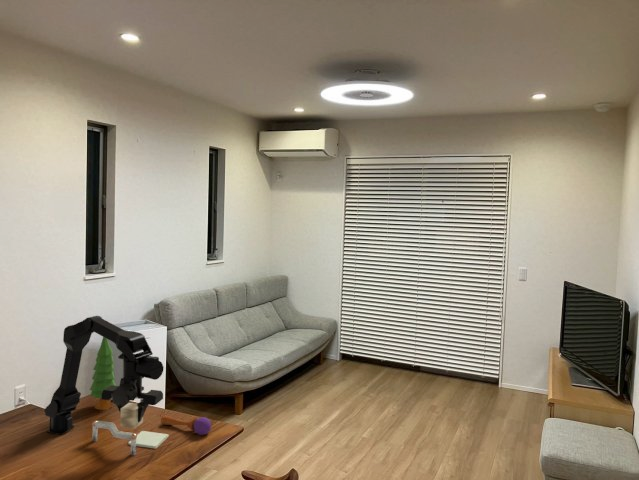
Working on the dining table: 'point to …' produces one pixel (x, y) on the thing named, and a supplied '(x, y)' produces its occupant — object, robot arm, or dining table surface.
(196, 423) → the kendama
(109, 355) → the decorative tree
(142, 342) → the robot arm
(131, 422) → the birch block
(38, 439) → the dining table surface
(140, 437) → the sage pad
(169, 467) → the dining table surface
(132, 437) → the steel handle
